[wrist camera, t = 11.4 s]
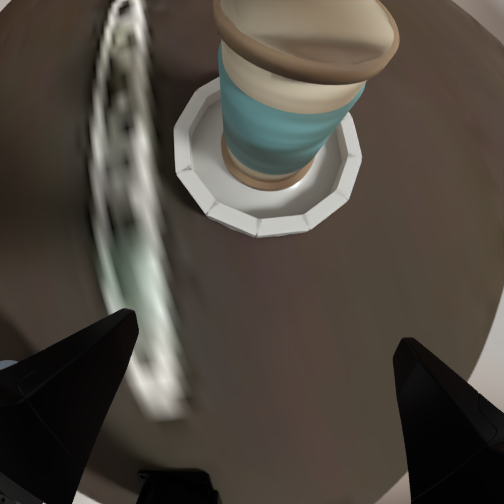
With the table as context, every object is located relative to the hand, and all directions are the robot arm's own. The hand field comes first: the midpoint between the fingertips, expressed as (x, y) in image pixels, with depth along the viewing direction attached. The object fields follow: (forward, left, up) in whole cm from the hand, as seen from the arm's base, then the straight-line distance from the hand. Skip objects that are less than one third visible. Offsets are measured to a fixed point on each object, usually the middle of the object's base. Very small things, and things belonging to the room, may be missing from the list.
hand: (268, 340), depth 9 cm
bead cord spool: (+2, +10, -10) cm, 14 cm away
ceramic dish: (+2, +10, -11) cm, 15 cm away
